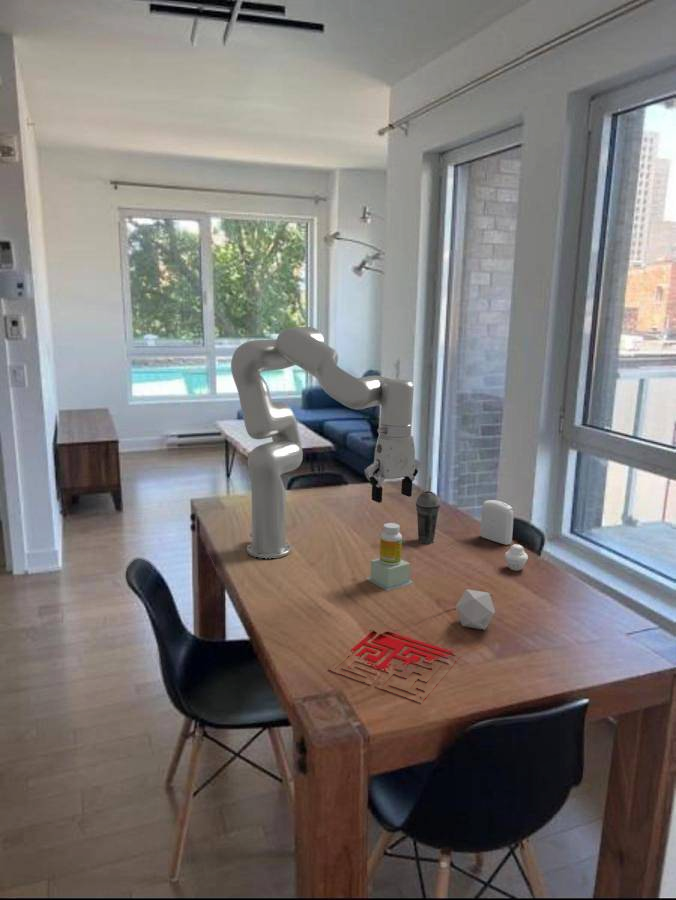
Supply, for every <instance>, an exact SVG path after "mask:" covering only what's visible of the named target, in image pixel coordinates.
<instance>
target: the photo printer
mask: <svg viewBox="0 0 676 900" xmlns="http://www.w3.org/2000/svg"><path fill="white" fill-rule="evenodd" d="M514 518H515V510H514V508H513V507H512V506H511V505H509V504H508V503H505V502H503V501H500V500H495V499H491V500H485V501H484V502H483V504H482V507H481V520H480V537H481V538H483V539H487V540H489V541H491V542H496V543H498V544H502V545H505V546H507V545H511V544H512V542H513V534H514V533H513V531H514V530H513V529H514Z"/></svg>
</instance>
